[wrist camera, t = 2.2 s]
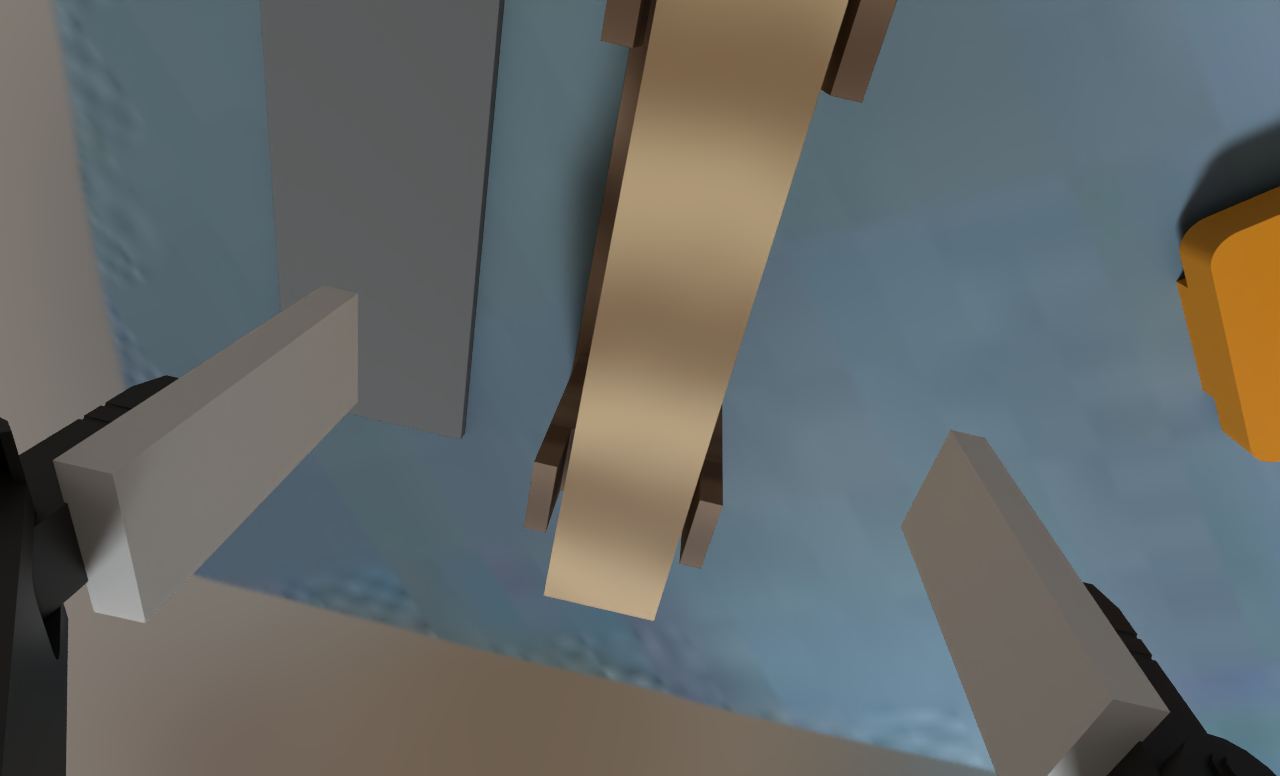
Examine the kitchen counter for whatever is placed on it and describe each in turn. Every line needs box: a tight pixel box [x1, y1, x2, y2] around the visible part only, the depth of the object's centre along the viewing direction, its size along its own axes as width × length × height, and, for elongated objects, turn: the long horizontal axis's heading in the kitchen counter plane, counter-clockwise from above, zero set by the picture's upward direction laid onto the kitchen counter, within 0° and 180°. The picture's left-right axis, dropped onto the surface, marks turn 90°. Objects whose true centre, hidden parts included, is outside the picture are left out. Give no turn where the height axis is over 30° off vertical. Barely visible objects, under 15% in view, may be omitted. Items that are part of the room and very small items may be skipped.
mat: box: [260, 0, 504, 440], centre depth 27 cm, size 26×9×1 cm, turn 168°
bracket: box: [524, 0, 897, 569], centre depth 24 cm, size 22×7×10 cm, turn 168°
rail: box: [544, 0, 849, 621], centre depth 20 cm, size 22×4×4 cm, turn 168°
